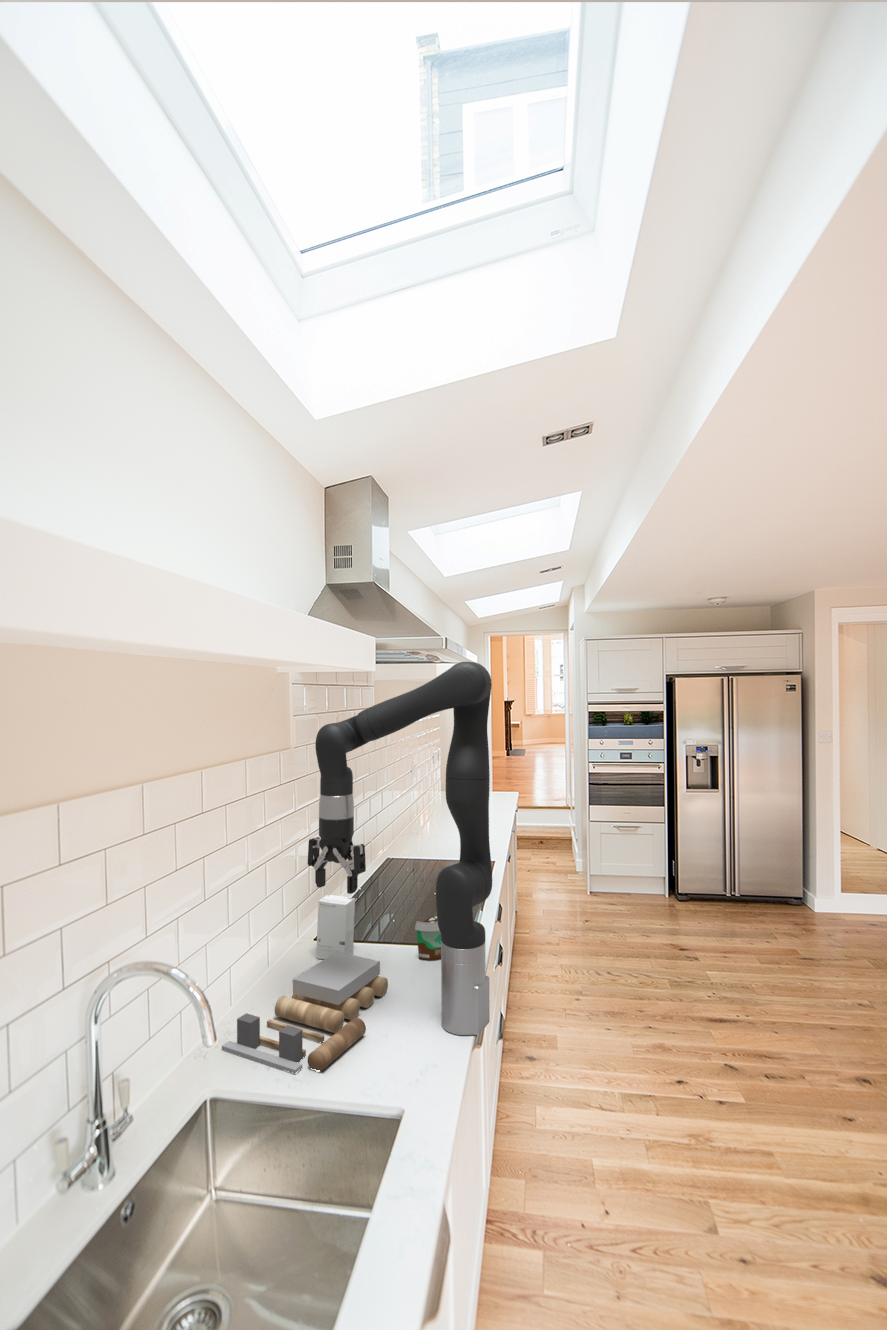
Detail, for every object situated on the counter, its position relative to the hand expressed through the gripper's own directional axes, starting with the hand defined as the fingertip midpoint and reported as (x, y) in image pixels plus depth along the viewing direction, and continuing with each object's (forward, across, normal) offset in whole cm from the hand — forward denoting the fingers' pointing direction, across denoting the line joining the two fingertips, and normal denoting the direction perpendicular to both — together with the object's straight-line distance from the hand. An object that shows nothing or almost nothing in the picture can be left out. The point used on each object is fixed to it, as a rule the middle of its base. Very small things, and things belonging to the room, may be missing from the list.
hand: (335, 889), depth 145 cm
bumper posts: (+26, +1, +19) cm, 32 cm away
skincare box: (+26, +18, -22) cm, 39 cm away
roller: (+26, -11, +12) cm, 31 cm away
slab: (+22, +2, -3) cm, 22 cm away
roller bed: (+26, +2, +2) cm, 26 cm away
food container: (+26, -5, -36) cm, 45 cm away
